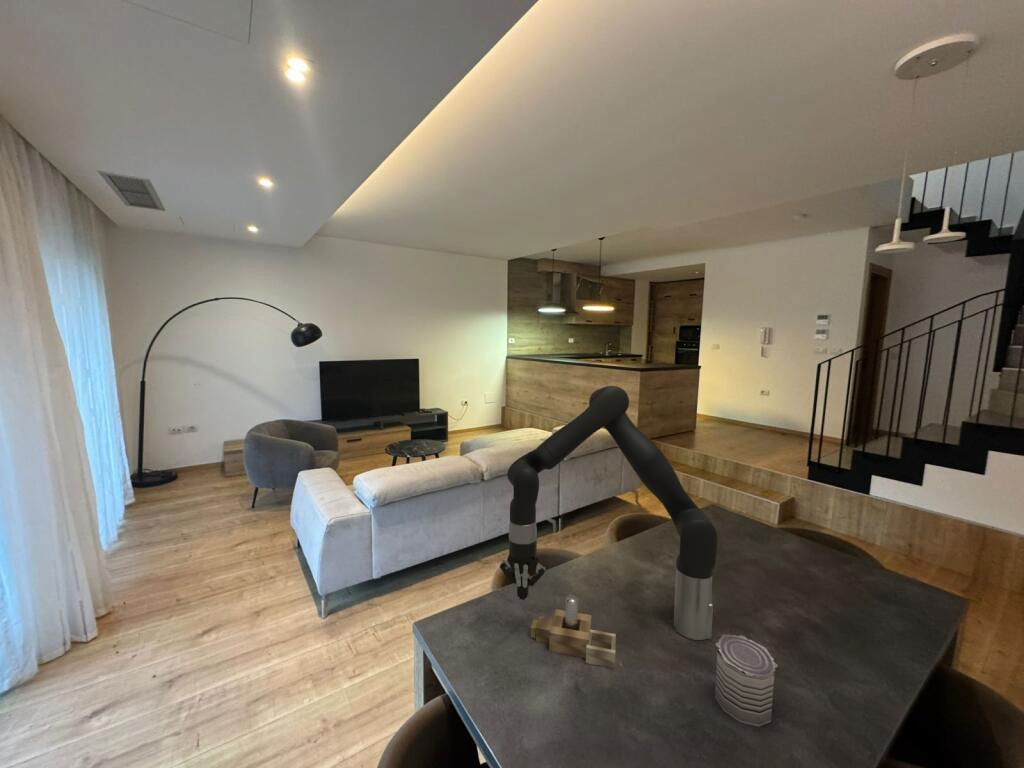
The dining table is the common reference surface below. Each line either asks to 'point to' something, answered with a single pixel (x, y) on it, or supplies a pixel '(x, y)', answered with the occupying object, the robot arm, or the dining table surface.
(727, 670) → the can
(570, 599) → the rod
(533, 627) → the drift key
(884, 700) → the dining table surface
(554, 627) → the socket block
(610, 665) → the frame
